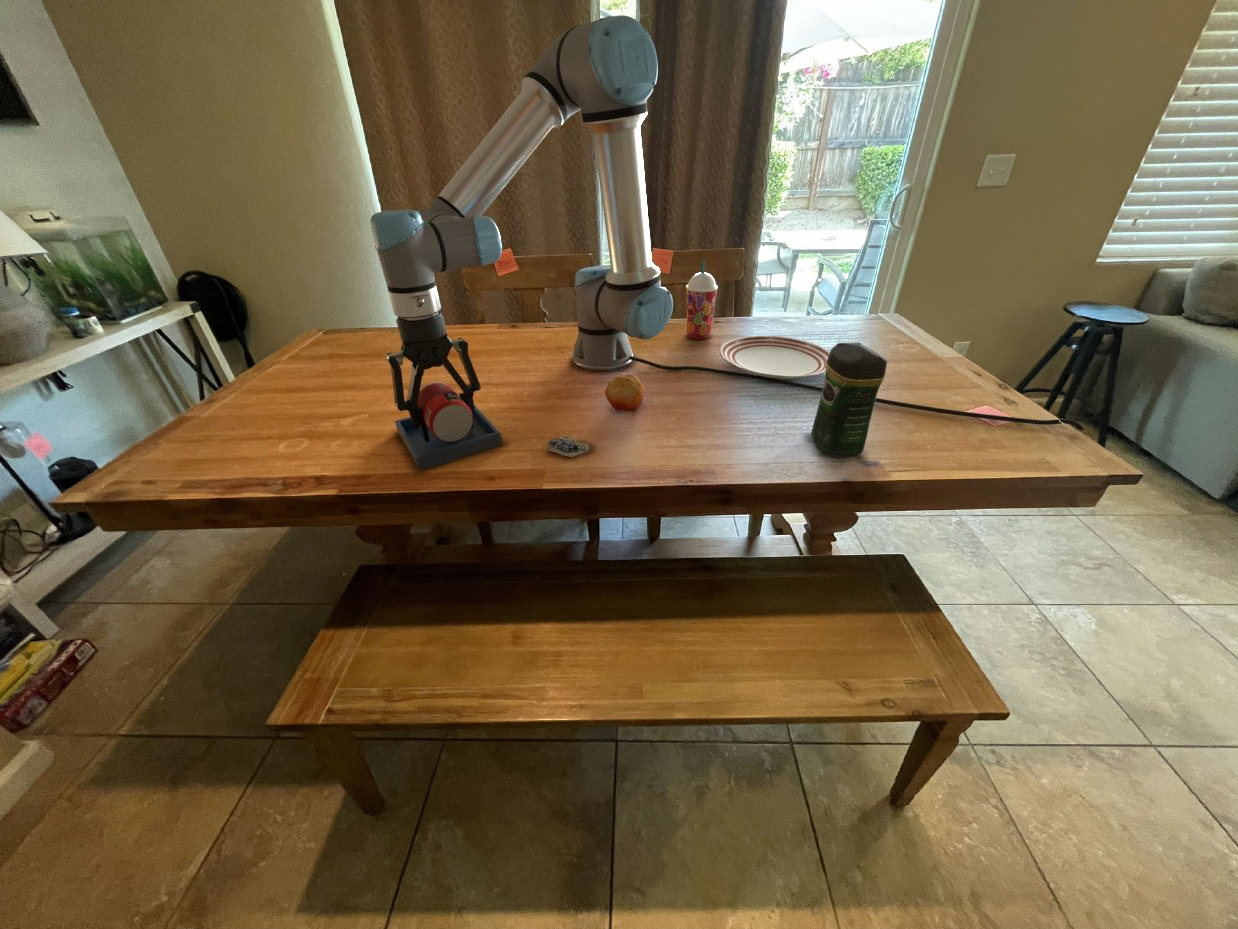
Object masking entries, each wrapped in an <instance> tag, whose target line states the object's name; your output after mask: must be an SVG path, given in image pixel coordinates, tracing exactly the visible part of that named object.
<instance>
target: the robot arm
mask: <svg viewBox="0 0 1238 929" xmlns="http://www.w3.org/2000/svg"><path fill="white" fill-rule="evenodd" d="M658 72H659V62H658V55H657V50H656V47H655V44H654V42H653V39H652V37H651V35H650V34H649V32H648V31H647V29H645V28H644V26H643V25H642V23H640V22H639V21H638V20H637V19H635V18H633V17H631V16H628V15H624V14H623V15H621V14H620V15H612V16H611V15H607V16H605V17H601V18H599V19H596V20H594V21H590V22H588V23H584V24H581V25H577V26H574V27H571V28H570V27H569V29H566V30H565V31H563V32H561V33H560V34H559V35H558V36H557V37H556V38H555V39H554V40H553V41H552V42H551V43H550V45H548V47H547V48H546V49H545V50H544V52H543V53H542V54H541V56H540V57H539V58H538V59H537V60H536V62H535V64H533V65H532V67H531V69H529V71H528V72H527V74H526V75H525V76H524V77H523V78H522V80H521V82H520V90H521V92H520V93H519V94H518V95H517V97H516V98H515V99H514V100H513V101H512V103H511V104H510V105H509V106H508V108H507V109H506V110H505V112H504V113H503V114H502V115H501V116H500V118H499V119H498V120H497V121H496V123H495V124H494V125H493V126H492V128H491V129H490V130H489V131H488V133H487V134H486V135H485V136H484V138H482V140H481V141H480V143H479V144H478V145H477V146H476V148H475V149H474V150H473V152H472V153H471V154H470V155H469V156H468V158H467V159H466V160H465V161H464V162H463V164H462V165H461V166H460V168H459V169H458V170H457V171H456V173H455V174H454V175H453V177H452V178H450V180H449V181H448V183H446V185H445V186H444V187H443V189H442V190H441V192H439V194H438V195H437V197H435V199H433V201H432V202H430V204H429V206H428V207H427V208H424V209H421V210H419V211H418V210H415V209H391V210H383V211H379V212H375V213H373V214H372V216H371V217H370V219H369V220H370V221H369V222H370V229H371V232H372V236H373V243H374V248H375V250H376V253H377V256H378V259H379V263H380V267H381V270H382V274H383V277H384V281H385V284H386V287H387V292H388V296H389V300H390V303H391V308H392V310H393V314H394V316H396V319H395V321H396V325H397V329H398V332H399V336H400V339H401V347H400V350H399V351H397V352H394V353H392V352H387V353H386V355H385V359H386V360H387V362H388V364H389V366H390V371H391V372H390V373H391V381H392V391H393V398H394V405H395V406H396V408H397V410H398V411H399V412H403V411H408V414H409V417H410V418H411V421H412V423H413V424H414V426H415V427H416V426H419V427H420V430H421V434H422V437H423V438H424V440H425V442H428V441H430V439H429V436H428V432H427V428H426V425H425V421H424V417H423V414H422V410H421V409H420V407H419V406H418V405H417V403H418V397H419V392H420V390H421V384H422V381H423V380H422V379H423V376H424V374H425V371H427V370H430V369H432V368H438V367H439V368H440V367H443V368H445V371H447V373H448V374H449V375H450V377H451V378H452V379H453V381H454V382H455V383H456V385H457V386H458V387H459V389H460V390H461V391H462V392H461V393H458V396H459V397H460V398H461V399H462V400H463V401H464V403H465V404H466V405H467V406H468V407H469V408H470V410H471V411H472V410H474V409H475V406H476V405H475V402H474V395H475V394H474V393H475V392H478V391H480V390H481V388H482V386H481V384H480V381H479V378H478V376H477V373H476V371H475V368H474V366H473V362H472V360H471V356H470V355H469V343H468V341H466V339H464V338H463V337H458V338H457V339H450V338H449V335H448V330H447V327H446V323H445V318H444V314H443V313H442V312H441V309H442V305H441V300H440V296H439V292H438V288H437V282H436V278H435V274H438V273H444V272H451V271H457V270H464V269H468V268H469V269H470V268H476V267H481V268H482V267H484V266H487V265H491V264H495V263H498V261H499V260H501V259H500V258H501V256H502V251H503V245H502V243H503V242H502V238H501V234H500V231H499V228H498V226H497V224H496V223H495V221H494V219H492V218H491V217H490V216H486V215H484V213H485V212H486V211H487V210H488V209H489V207H490V206H491V205H492V203H493V202H494V201H495V200H496V198H497V197H498V196H499V195H500V194H501V192H502V191H503V190H504V189H505V187H506V186H507V185H508V184H509V183H510V181H511V180H512V179H513V177H514V176H515V175H516V174H517V172H518V171H519V170H521V167H522V166H523V165H524V164H525V162H526V161H527V160H528V159H529V157H531V155H532V154H533V152H534V151H535V150H536V149H537V147H538V146H539V145H540V144H541V143H542V141H543V140H544V139H545V138H546V136H547V135H548V134H549V133H550V132H551V130H552V129H560V128H561V127H562V126H563V125H564V124H565V122H566V121H567V120H568V119H569V118H570V117H572V116H573V115H575V114H576V113H578V112H580V113H581V119H582V124H583V126H585V127H586V129H588V130H589V131H590V132H591V133H592V137H593V143H594V150H595V159H596V165H597V173H598V181H599V186H600V187H599V188H600V195H601V196H600V197H601V202H602V211H603V217H604V218H603V219H604V226H605V233H606V240H607V247H608V254H609V255H608V256H609V262H610V264H602V265H601V264H600V265H595V266H594V265H593V266H587V267H584V268H581V269H578V270H577V271H576V273H575V274H574V275H575V276H574V289H575V303H576V319H577V330H578V331H577V332H578V333H577V336H576V341H575V343H574V346H573V352H572V362H573V365H574V366H575V367H576V368H578V369H580V370H583V371H586V372H593V373H608V372H609V373H610V372H615V371H619V370H620V371H621V370H623V369H625V368H627V367H629V366H630V365H631V364H632V363H633V362H638V363H640V364H644V365H649V366H651V367H654V368H657V369H661V370H667V371H701V372H702V371H703V372H709V373H716V374H720V375H721V374H723V375H729V376H735V377H742V378H747V379H753V380H759V381H764V382H770V383H776V384H781V385H786V386H791V387H795V388H802V389H806V390H812V391H816V392H821V393H822V390H823V387H821V386H817V385H811V384H805V383H800V382H795V381H789V380H786V379H774V378H769V377H763V376H757V375H753V374H751V373H746V372H738V371H732V370H726V369H718V368H713V367H707V366H696V365H695V366H694V365H693V366H692V365H685V366H684V365H681V366H680V365H679V366H678V365H676V366H675V365H674V366H673V365H662V364H660V363H659V364H658V363H656V362H653V361H650V360H646V359H644V358H640V357H636V356H634V354H633V350H632V346H631V343H630V341H629V338H628V337H630V338H636V339H639V340H650V339H653V338H655V337H657V336H658V335H659V334H661V333H662V332H663V331H664V329H665V328H666V326H667V324H668V323H669V322H670V319H671V318H672V314H673V310H674V300H673V296H672V294H671V292H670V291H669V290H668V289H667V287H665V286H662V284H661V282H662V281H661V271H660V268H659V266H656V265H655V264H654V263H653V261H652V251H651V250H652V248H651V236H650V226H649V216H648V203H647V193H646V192H647V191H646V181H645V170H644V169H645V168H644V157H643V156H644V155H643V148H642V147H643V145H642V135H641V125H642V123H643V121H644V120H645V118H646V117H647V115H648V102H647V100H648V99H649V97H650V96H651V95H652V93H653V91H654V86H655V85H657V80H658ZM452 348H453V349H454V351H455V352H456V353H457V354H458V357H459V359H460V361H461V364H462V367H463V370H464V372H465V374H466V377H467V379H468V382H469V384H467V383H466V382H465V380H464V379H463V377H462V376H461V375H460V374H459V372H458V371H457V369H456V368H455V367H454V366H453V364H452V362H451V361H450V360H449V359H448V356H449V355H450V352H451V350H452ZM404 358H406V359H407V360H408V361H409V362H411V373H410V377H409V378H410V379H409V384H408V390H407V397H406V400H405V392H404V381H403V373H402V368H401V366H402V365H403V364H404V361H403V360H404ZM875 403H879V404H885V405H890V406H896V407H900V408H907V409H912V410H920V411H927V412H932V413H933V412H934V413H938V414H947V415H952V416H953V415H954V416H959V417H969V418H976V419H984V420H992V421H993V420H994V421H1001V422H1008V423H1009V422H1011V423H1019V424H1020V423H1021V424H1029V425H1039V426H1040V425H1041V426H1050V425H1051V426H1052V425H1064V424H1065V425H1072V426H1073V427H1074V428H1075V429H1077V430H1078V431H1085V428H1084V426H1083V425H1082V424H1081V423H1080V422H1078V421H1076V420H1073V419H1069V418H1057V419H1058V420H1057V419H1034V418H1033V419H1032V418H1024V417H1014V416H1013V417H1012V416H1005V415H995V414H988V413H987V414H986V413H978V412H970V411H962V410H957V409H956V410H955V409H948V408H941V407H934V406H926V405H922V404H921V405H920V404H913V403H908V402H902V401H895V400H890V399H885V398H879V397H876V400H875ZM474 405H475V406H474ZM1059 420H1060V421H1061V422H1063V423H1064V424H1062V423H1061V422H1059ZM472 428H474V426H473V424H472V427H471V429H472Z"/></svg>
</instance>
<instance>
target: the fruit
mask: <svg viewBox="0 0 1238 929" xmlns="http://www.w3.org/2000/svg"><path fill="white" fill-rule="evenodd" d="M644 392H645V390H644V386H643V384H642V382H641V381H640V379H639V378H638V377H637V376H636V375H633V374H630V373H628V374H620V375H617V376H615V377H614V378H612V379H610V380H609V381H608V383H607V384H606V387H605V389H604V395H605V397H606V400H607V401H608V403H609V404H610V405H611V407H612V409H614V410H615V411H618V412H635V411H637V410H638V409H640V407H641V405H642V403H643V399H644Z"/></svg>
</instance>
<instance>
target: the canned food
mask: <svg viewBox="0 0 1238 929" xmlns="http://www.w3.org/2000/svg"><path fill="white" fill-rule="evenodd" d="M417 405H418V406H419V407H420V409H421V410H422V414H423V417H424V421H425V424H426V425H427V426H428V428H429V429H430V431H431V432H432V434H433V435H434V436H435V437H436V438H438V439H440V440H442V441H445V442H454V441H457V440H460V439H462V438H463V437H464V436H466V435H467V434H468V432H469V431H470V429H471V427H472V424H473V416H472V412H471V410H470V408H469V407H468V406H467V405H466V404H465V403H464V401H463V400H462V399H461V398H460V396H459V394H458V393H457V392H456V391H455V390H454V388H452V387H451V386H450V385H449V384H447V383H444V382H440V381H435V382H430V383H428V384H425V385H424V386H423V387H422V388H420V392H419V397H418V403H417Z"/></svg>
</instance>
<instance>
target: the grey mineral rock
mask: <svg viewBox="0 0 1238 929" xmlns="http://www.w3.org/2000/svg"><path fill="white" fill-rule="evenodd" d="M547 445H548V446H547V447H546V448H545V449H546V450H547V451H550V452H552V453H555V454H558V455H561V456H562V457H569V458H574V457H578V456H579V455H582V454H584V453H588V452H589V451H590V450H591V449H590V446H589V444H587V443H583V442H581V441H580V442H577V439H573V437H568V436H564V435H563V436H558V437H555V438H554V439H549V442H548V443H547Z"/></svg>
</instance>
